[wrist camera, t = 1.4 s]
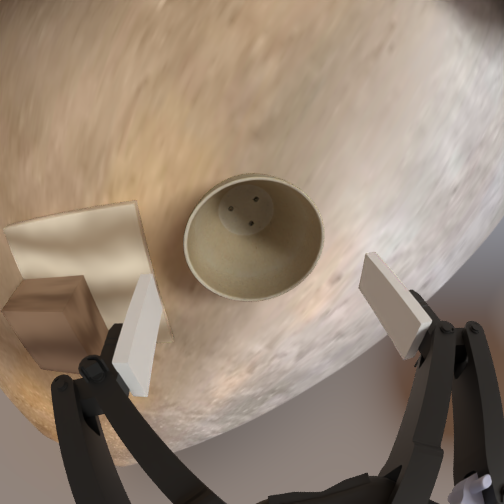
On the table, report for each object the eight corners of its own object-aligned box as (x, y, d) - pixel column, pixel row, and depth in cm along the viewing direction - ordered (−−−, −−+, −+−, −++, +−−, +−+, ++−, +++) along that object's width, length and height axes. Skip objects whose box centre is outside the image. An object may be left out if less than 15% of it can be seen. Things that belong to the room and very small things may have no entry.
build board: (7, 225, 22) (2, 228, 21) (136, 199, 24) (134, 203, 23) (60, 336, 32) (58, 341, 31) (173, 336, 33) (173, 342, 32)
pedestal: (23, 279, 25) (1, 311, 20) (83, 275, 26) (62, 312, 21) (55, 336, 30) (41, 369, 25) (112, 338, 31) (102, 375, 26)
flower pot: (230, 271, 29) (234, 320, 23) (170, 195, 24) (154, 230, 18) (316, 222, 27) (343, 262, 21) (266, 134, 22) (285, 147, 16)
